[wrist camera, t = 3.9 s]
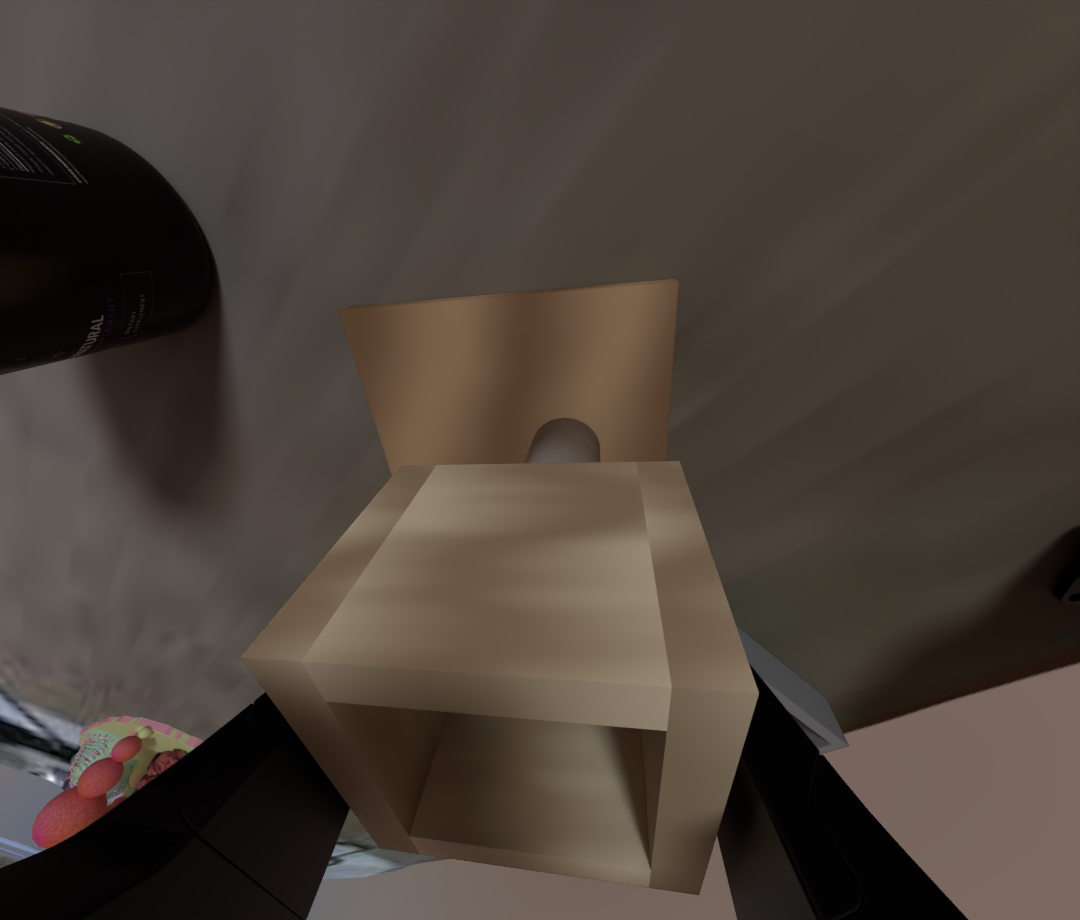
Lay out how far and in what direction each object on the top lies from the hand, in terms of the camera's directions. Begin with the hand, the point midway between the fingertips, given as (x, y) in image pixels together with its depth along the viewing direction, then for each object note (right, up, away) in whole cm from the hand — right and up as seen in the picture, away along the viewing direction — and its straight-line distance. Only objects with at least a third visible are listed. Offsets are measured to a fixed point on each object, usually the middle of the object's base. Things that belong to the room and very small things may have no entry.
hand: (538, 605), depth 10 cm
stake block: (-1, +4, +8) cm, 9 cm away
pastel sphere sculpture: (-37, -32, +35) cm, 60 cm away
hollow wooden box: (0, +1, +1) cm, 1 cm away
